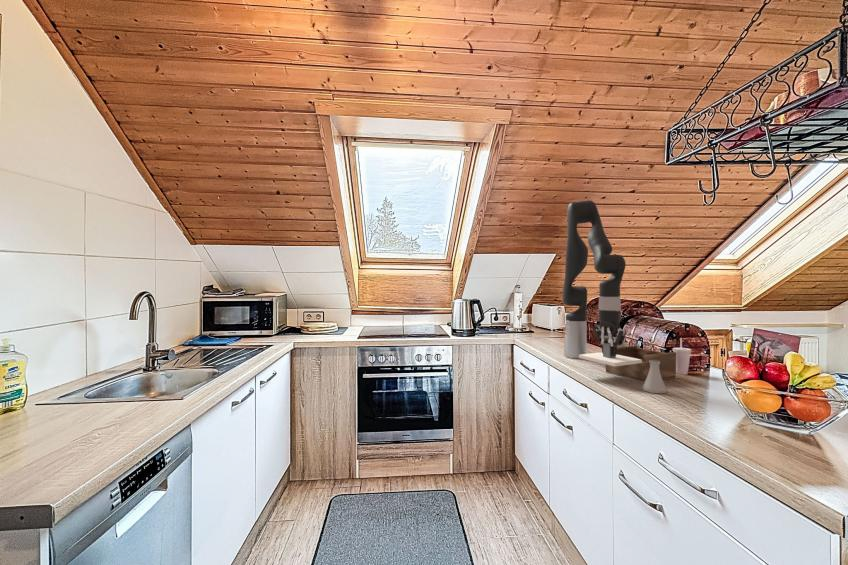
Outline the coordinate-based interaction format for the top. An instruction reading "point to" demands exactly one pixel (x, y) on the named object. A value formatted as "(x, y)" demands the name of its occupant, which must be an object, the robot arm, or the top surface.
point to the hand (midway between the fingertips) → (609, 355)
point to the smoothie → (682, 359)
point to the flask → (654, 379)
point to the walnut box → (644, 363)
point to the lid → (609, 357)
